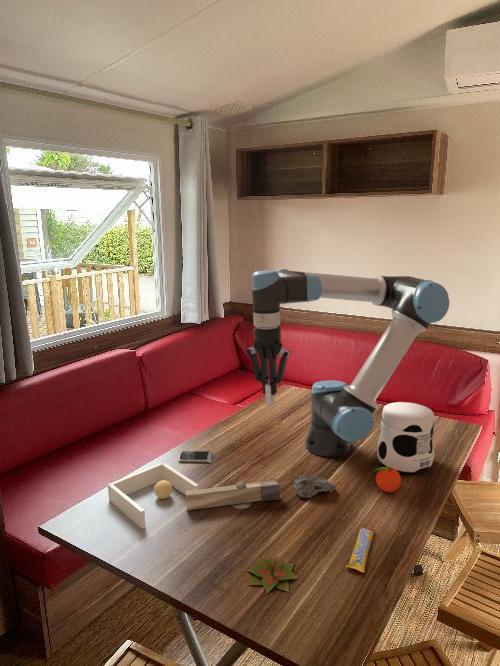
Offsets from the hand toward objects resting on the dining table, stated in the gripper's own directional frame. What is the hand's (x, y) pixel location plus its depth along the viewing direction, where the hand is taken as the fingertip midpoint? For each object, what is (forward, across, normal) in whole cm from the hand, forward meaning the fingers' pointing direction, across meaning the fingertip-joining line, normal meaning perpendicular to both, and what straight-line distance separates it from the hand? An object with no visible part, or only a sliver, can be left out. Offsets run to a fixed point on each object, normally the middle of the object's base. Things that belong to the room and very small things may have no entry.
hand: (270, 404), depth 143 cm
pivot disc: (+23, -3, -17) cm, 29 cm away
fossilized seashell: (+24, +14, -3) cm, 28 cm away
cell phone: (+23, -27, 0) cm, 36 cm away
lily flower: (+24, +15, -39) cm, 48 cm away
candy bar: (+25, +32, -23) cm, 46 cm away
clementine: (+25, +33, +6) cm, 41 cm away
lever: (+22, -4, -18) cm, 29 cm away
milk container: (+25, +35, +23) cm, 49 cm away
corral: (+22, -25, -26) cm, 42 cm away
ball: (+21, -22, -24) cm, 38 cm away
